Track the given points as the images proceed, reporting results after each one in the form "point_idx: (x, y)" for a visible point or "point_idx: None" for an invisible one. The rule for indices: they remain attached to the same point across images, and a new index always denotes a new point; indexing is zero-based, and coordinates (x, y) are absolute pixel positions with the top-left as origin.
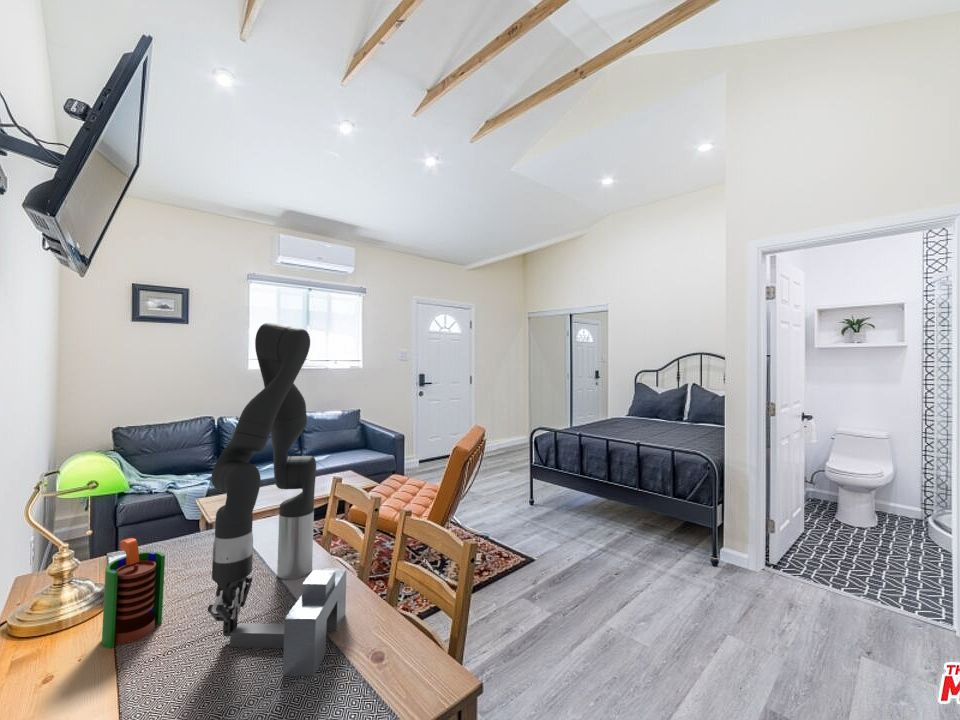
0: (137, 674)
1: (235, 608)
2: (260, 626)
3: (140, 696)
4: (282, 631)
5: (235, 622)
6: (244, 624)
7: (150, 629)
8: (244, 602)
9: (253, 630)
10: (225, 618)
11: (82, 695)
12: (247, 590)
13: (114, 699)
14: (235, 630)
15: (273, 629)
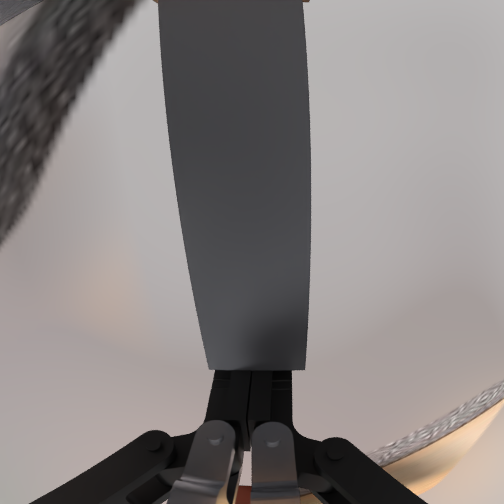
0: (401, 443)
1: (254, 478)
2: (222, 235)
3: (485, 393)
4: (270, 17)
5: (250, 393)
6: (219, 342)
7: (243, 493)
8: (139, 445)
9: (276, 260)
10: (382, 470)
11: (435, 461)
12: (89, 492)
13: (471, 423)
14: (281, 358)
15: (249, 107)
